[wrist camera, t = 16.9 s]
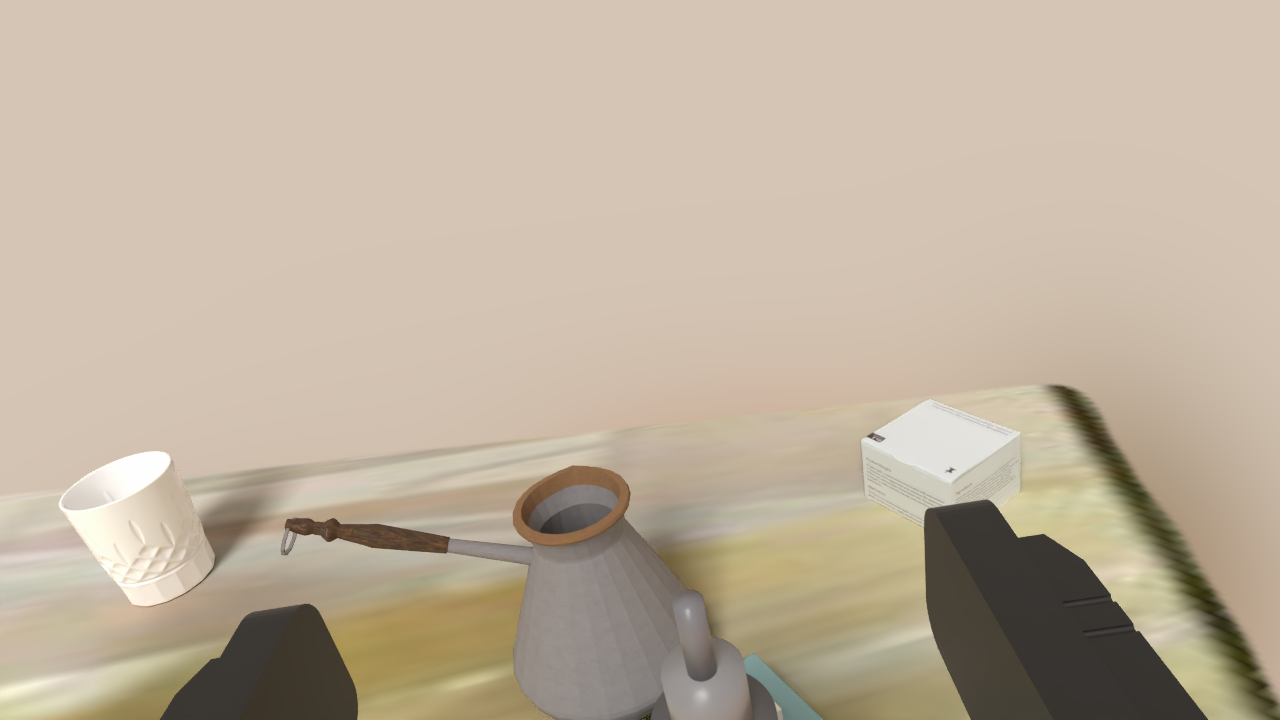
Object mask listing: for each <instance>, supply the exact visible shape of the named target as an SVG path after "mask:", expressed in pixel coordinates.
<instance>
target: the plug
mask: <svg viewBox="0 0 1280 720" xmlns="http://www.w3.org/2000/svg"><path fill="white" fill-rule="evenodd" d="M672 607H673V611H674V616H675V620H676V624H677V629H678V633H679V638H680V642H681V644H679V645H677V646H676V647H675V648H673V649H672V650H671V651H670V652H669V653H668V655H667V656H666V658H665V659H664V661H663V664H662V667H661V681H662V685H663V689H664V692H663V693H662V694H661V695H660V697H659V698H658V700H657V702H656V704H655V706H654V708H653V711H652V714H651V719H650V720H778V716H777V710H776V706H775V703H774V700H773V698H772V696H771V695H770V693H769V691H768V690H767V689H766V688H765V687H764V685H763V684H762V683H760V682H759V681H758V680H757V679H755V678H754V677H752V676H751V675H749V674H747V673H746V670H745V665H744V660H743V657H742V655H741V653H740V652H739V650H738V649H737V648H736V647H735V646H734V645H732V644H731V643H729V642H728V641H725V640H723V639H720V638H716V637H711V634H710V629H709V624H708V619H707V614H706V610H705V605H704V600H703V596H702V595H701V594H700V593H699V592H697V591H694V590H685V591H682V592H680V593H678V594H677V595H676V596H675V597H674V598H673V600H672Z"/></svg>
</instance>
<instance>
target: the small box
mask: <svg viewBox="0 0 1280 720" xmlns="http://www.w3.org/2000/svg"><path fill="white" fill-rule="evenodd" d="M860 445H861V455H862V465H863V478H864V491H865V497H867V498H869V499H871V500H873V501H875V502H877V503H878V504H880V505H882V506H884V507H886V508H888V509H890V510H891V511H893V512H895V513H897V514H899V515H901V516H903V517H905V518H907V519H908V520H910V521H912V522H914V523H916V524H918V525H920V526H922V527H923V528H924V515H925V511H926V510H927V509H928V508H934V507H940V506H946V505H953V504H959V503H966V502H972V501H978V500H985V499H987V500H990V501H991V502H992V503H994V505H995V506H996V507H997V508H999V507H1001V506H1002V505H1003V504H1005V503H1006V502H1007V501H1009V500H1010V499H1011V498H1013V497H1014V496H1016V495H1017V494H1018V493H1020V489H1021V480H1020V472H1021V432H1018V431H1015V430H1012V429H1009V428H1006V427H1004V426H1001V425H998V424H996V423H993V422H990V421H987V420H985V419H982V418H979V417H977V416H974V415H971V414H968V413H966V412H963V411H960V410H958V409H955V408H952V407H950V406H947V405H945V404H942V403H939V402H937V401H934V400H932V399H928V400H926V401H924V402H923V403H921V404H919V405H917V406H916V407H914V408H912V409H911V410H909V411H908V412H906V413H904V414H903V415H901V416H900V417H898V418H896V419H895V420H893V421H891V422H890V423H888V424H886V425H885V426H883V427H881V428H880V429H878V430H876V431H875V432H873V433H871V434H870V435H868V436H867V437H865V438H863V439H862V440H861V441H860Z"/></svg>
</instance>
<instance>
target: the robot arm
mask: <svg viewBox="0 0 1280 720" xmlns="http://www.w3.org/2000/svg"><path fill="white" fill-rule="evenodd" d="M924 539H925V574H926V602H927V609H928V615H929V620H930V624H931V628H932V632H933V635H934V638H935V641H936V644H937V646H938V649H939V651H940V654H941V656H942V658H943V660H944V662H945V664H946V667H947V669H948V671H949V673H950V675H951V677H952V680H953V682H954V684H955V686H956V688H957V690H958V693H959V695H960V697H961V699H962V701H963V703H964V706H965V708H966V710H967V712H968V714H969V716H970V718H971V720H1208V719H1207V718H1206V716H1205V715H1204V714H1203V712H1202V711H1201V710H1200V709H1199V707H1198V706H1197V705H1196V703H1195V702H1194V701H1193V700H1192V698H1191V697H1190V696H1189V694H1188V693H1187V692H1186V691H1185V689H1184V688H1183V687H1182V685H1181V684H1180V683H1179V682H1178V680H1177V679H1176V678H1175V676H1174V675H1173V674H1172V673H1171V671H1170V670H1169V669H1168V667H1167V666H1166V665H1165V664H1164V662H1163V661H1162V660H1161V658H1160V657H1159V656H1158V655H1157V653H1156V652H1155V651H1154V649H1153V648H1152V647H1151V646H1150V644H1149V643H1148V642H1147V640H1146V639H1145V638H1144V637H1143V635H1142V634H1141V633H1140V631H1137V632H1136V631H1135V629H1134V626H1133V623H1132V621H1131V620H1130V619H1129V617H1128V616H1127V615H1126V614H1125V612H1124V611H1123V610H1122V608H1121V607H1120V606H1119V605H1118V603H1117V602H1113V601H1112V599H1111V594H1110V593H1109V592H1108V590H1107V589H1106V588H1105V587H1104V585H1103V584H1102V583H1101V581H1100V580H1099V579H1098V578H1097V576H1096V575H1095V574H1094V572H1093V571H1092V570H1091V569H1090V567H1089V566H1088V565H1087V563H1086V562H1085V561H1084V560H1083V559H1081V558H1080V557H1078V556H1077V555H1075V554H1074V553H1072V552H1071V551H1069V550H1068V549H1066V548H1065V547H1063V546H1061V545H1060V544H1058V543H1057V542H1055V541H1054V540H1052V539H1051V538H1049V537H1048V536H1046V535H1045V534H1040V535H1034V536H1027V537H1021V538H1018V537H1017V536H1016V534H1015V533H1014V532H1013V530H1012V529H1011V527H1010V526H1009V524H1008V523H1007V521H1006V520H1005V519H1004V517H1003V516H1002V514H1001V513H1000V511H999V510H998V508H997V507H996V506H995V505H994V503H992V502H991V501H990V500H987V499H985V500H978V501H972V502H966V503H959V504H953V505H946V506H940V507H934V508H928V509H927V510H926V511H925V515H924ZM357 716H358V702H357V694H356V689H355V685H354V683H353V680H352V678H351V676H350V674H349V672H348V670H347V668H346V666H345V664H344V662H343V660H342V658H341V656H340V654H339V652H338V649H337V647H336V645H335V643H334V641H333V639H332V637H331V635H330V633H329V631H328V629H327V627H326V625H325V623H324V621H323V619H322V617H321V615H320V613H319V611H318V610H317V609H316V608H315V607H314V606H313V605H310V604H302V605H295V606H289V607H282V608H276V609H270V610H263V611H257V612H252V613H250V614H248V615H247V616H246V617H245V618H244V619H243V620H242V621H241V623H240V624H239V626H238V628H237V629H236V631H235V633H234V635H233V636H232V638H231V640H230V641H229V643H228V645H227V646H226V648H225V650H224V652H223V653H222V655H221V657H220V658H216V659H211V660H210V661H209V662H208V663H207V664H206V665H205V666H204V667H203V668H202V669H201V670H200V671H199V672H198V673H197V674H196V675H195V676H194V677H193V678H192V679H191V680H190V681H189V682H188V683H187V684H186V685H185V686H184V687H183V688H182V689H181V690H180V691H179V692H178V693H177V694H176V695H175V696H174V698H173V699H172V701H171V703H170V704H169V706H168V708H167V709H166V711H165V712H164V714H163V716H162V717H161V719H160V720H357Z"/></svg>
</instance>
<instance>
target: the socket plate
mask: <svg viewBox="0 0 1280 720" xmlns="http://www.w3.org/2000/svg"><path fill="white" fill-rule="evenodd" d="M744 665H745V670H746V673H747V674H749V675H751V676H752V677H754V678H755V679H757V680H758V681H759V682H760V683H762V684H763V685H764V687H765V688H766V689H767V690H768V691H769V693H770V695H771V696H772V698H773V700H774V703H775V706H776V710H777V716H778V720H823V719H822V718H821V717H820V716H819V715H818V714H817V713H816V712H815V711H814V710H813V709H812V708H811V707H810V706H809V705H808V704H807V703H806V702H805V701H803V700H802V699H801V698H800V697H799V696H798V695H797V694H796V693H795V692H794V691H793V690H792V689H791V688H790V687H789V686H788V685H787V684H786V683H785V682H784V681H783V680H782V679H781V678H779V677H778V676H777V675H776V674H775V673H774V672H773V671H772V670H771V669H770V668H769V667H768V666H767V665H766V664H765V663H764V662H763V661H762V660H761V659H760V658H759V657H758V656H757V655H755V654H754V653H753V654H752V655H750V656H748V657H747V658H745V659H744Z"/></svg>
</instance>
